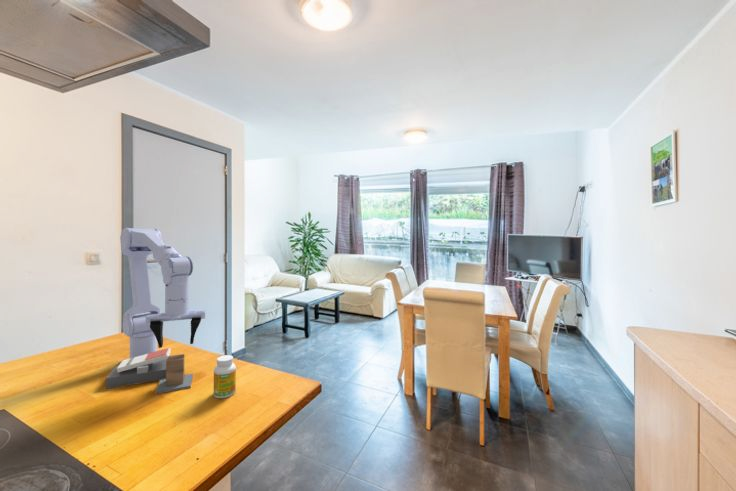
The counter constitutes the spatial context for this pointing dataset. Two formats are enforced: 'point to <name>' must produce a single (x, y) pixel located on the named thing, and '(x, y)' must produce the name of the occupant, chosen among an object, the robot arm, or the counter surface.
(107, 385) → the switch housing
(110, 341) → the counter surface
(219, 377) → the supplement bottle
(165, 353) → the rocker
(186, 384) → the mat
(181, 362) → the brown rectangular block
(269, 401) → the counter surface
